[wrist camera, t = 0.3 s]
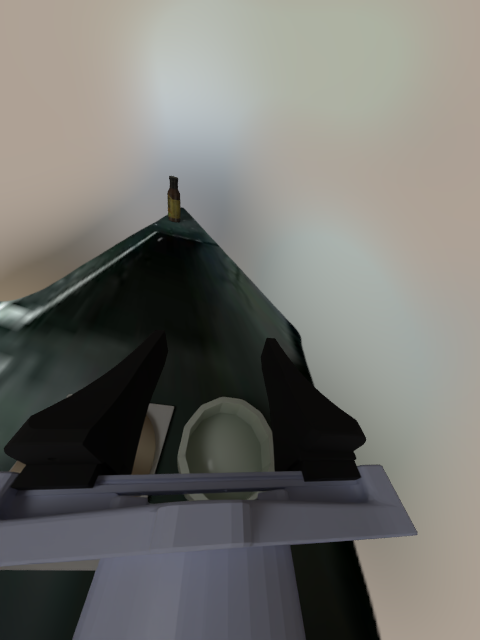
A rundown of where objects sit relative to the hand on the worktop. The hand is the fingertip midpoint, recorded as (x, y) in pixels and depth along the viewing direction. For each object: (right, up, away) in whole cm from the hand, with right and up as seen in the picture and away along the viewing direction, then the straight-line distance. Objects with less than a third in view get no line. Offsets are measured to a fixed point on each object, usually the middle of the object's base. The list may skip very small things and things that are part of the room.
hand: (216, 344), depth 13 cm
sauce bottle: (-35, +58, +88) cm, 111 cm away
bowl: (-1, -17, +12) cm, 21 cm away
